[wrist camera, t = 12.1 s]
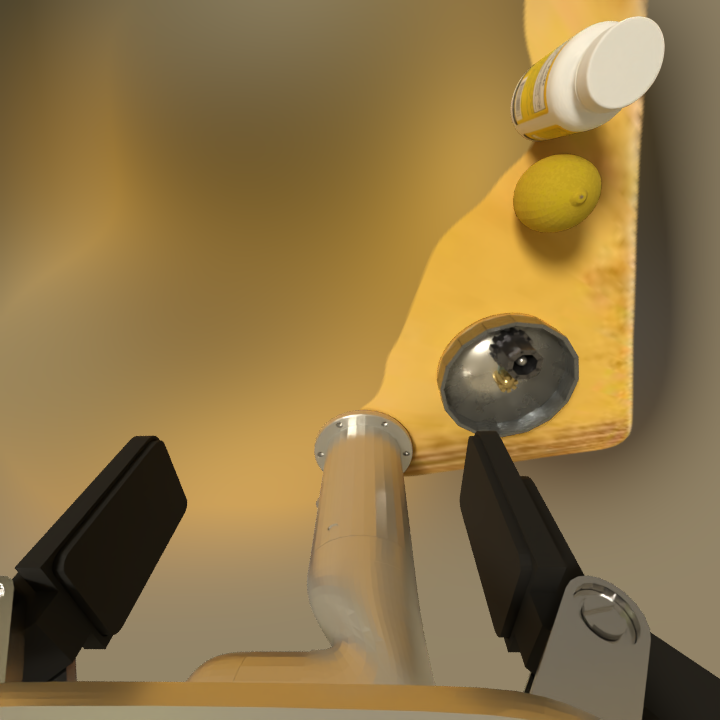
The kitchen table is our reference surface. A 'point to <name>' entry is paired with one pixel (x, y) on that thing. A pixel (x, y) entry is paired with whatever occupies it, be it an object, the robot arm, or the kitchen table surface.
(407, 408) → the kitchen table surface
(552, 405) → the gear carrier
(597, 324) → the kitchen table surface
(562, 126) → the supplement bottle
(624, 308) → the kitchen table surface
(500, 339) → the gear
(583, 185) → the lemon
